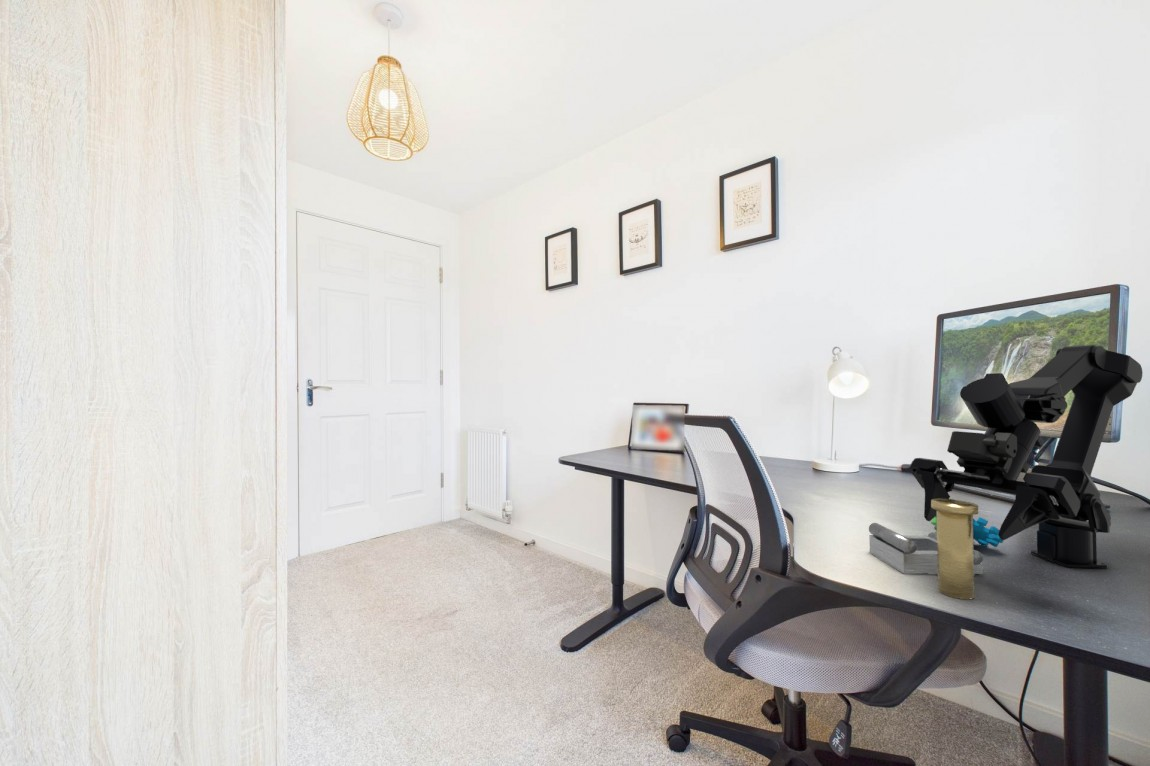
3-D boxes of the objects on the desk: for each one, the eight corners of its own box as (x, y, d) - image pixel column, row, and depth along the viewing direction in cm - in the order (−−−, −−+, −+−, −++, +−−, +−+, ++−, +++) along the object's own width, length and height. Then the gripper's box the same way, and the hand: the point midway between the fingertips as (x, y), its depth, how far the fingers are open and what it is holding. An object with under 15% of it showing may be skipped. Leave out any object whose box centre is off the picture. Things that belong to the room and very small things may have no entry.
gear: (1019, 545, 79) (981, 507, 78) (1005, 573, 77) (966, 533, 77) (954, 534, 89) (920, 500, 89) (941, 558, 88) (906, 523, 87)
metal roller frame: (940, 553, 79) (939, 523, 79) (983, 575, 70) (982, 540, 70) (869, 552, 80) (868, 522, 80) (903, 573, 71) (902, 539, 71)
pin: (960, 585, 67) (958, 498, 67) (990, 602, 62) (988, 507, 62) (923, 584, 67) (922, 498, 67) (951, 601, 62) (949, 507, 62)
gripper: (915, 410, 76) (871, 479, 72) (1067, 416, 59) (1022, 508, 54) (944, 453, 79) (904, 523, 75) (1098, 472, 61) (1057, 564, 57)
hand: (961, 527), depth 65 cm, fingers open, 9 cm apart
